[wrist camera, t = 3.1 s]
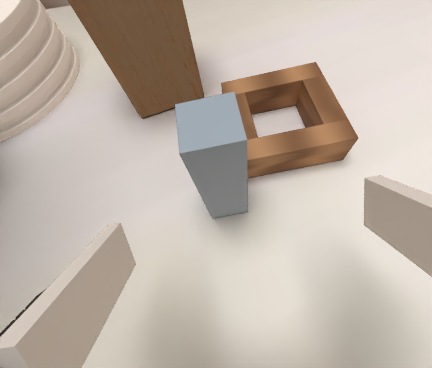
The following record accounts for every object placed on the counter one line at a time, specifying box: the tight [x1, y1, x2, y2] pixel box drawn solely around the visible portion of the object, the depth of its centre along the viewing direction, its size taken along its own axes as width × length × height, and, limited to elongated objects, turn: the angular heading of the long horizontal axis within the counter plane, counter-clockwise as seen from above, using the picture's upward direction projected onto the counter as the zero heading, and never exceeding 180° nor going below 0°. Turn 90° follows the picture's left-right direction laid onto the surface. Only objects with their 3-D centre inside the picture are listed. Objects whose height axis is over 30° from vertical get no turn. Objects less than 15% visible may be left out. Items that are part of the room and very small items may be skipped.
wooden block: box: [68, 0, 204, 118], centre depth 26 cm, size 10×10×20 cm
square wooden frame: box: [221, 62, 358, 178], centre depth 26 cm, size 12×12×4 cm
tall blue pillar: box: [175, 92, 248, 219], centre depth 19 cm, size 4×4×13 cm
